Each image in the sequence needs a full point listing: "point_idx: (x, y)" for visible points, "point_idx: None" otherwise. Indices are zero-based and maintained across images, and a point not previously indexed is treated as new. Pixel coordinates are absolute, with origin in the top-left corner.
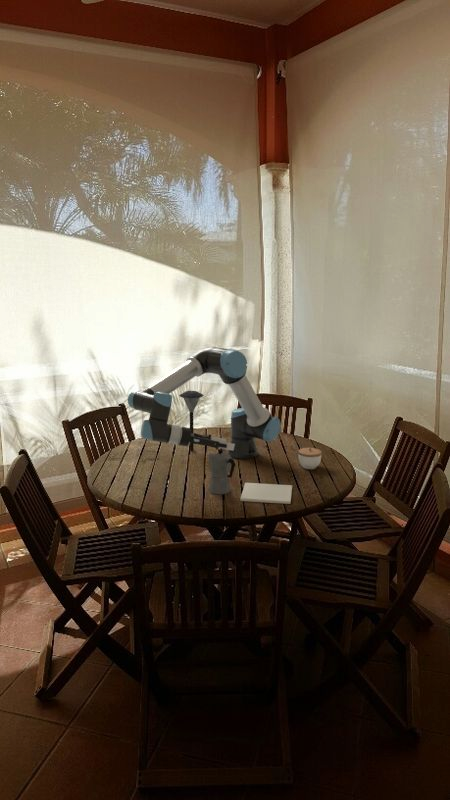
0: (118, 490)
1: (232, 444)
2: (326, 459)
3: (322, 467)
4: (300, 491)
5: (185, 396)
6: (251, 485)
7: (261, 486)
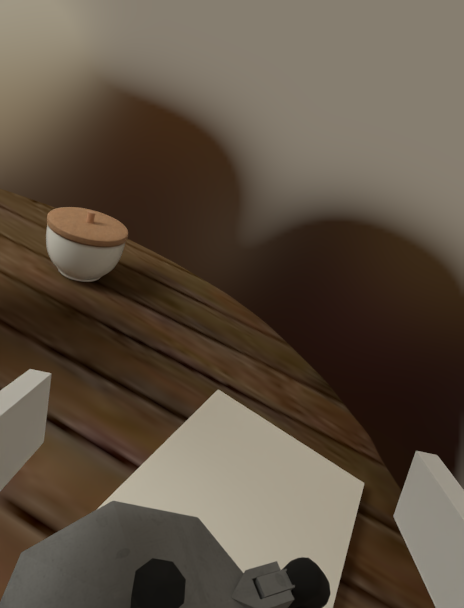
0: None
1: (447, 479)
2: None
3: None
4: (255, 398)
5: None
6: None
7: (182, 479)
